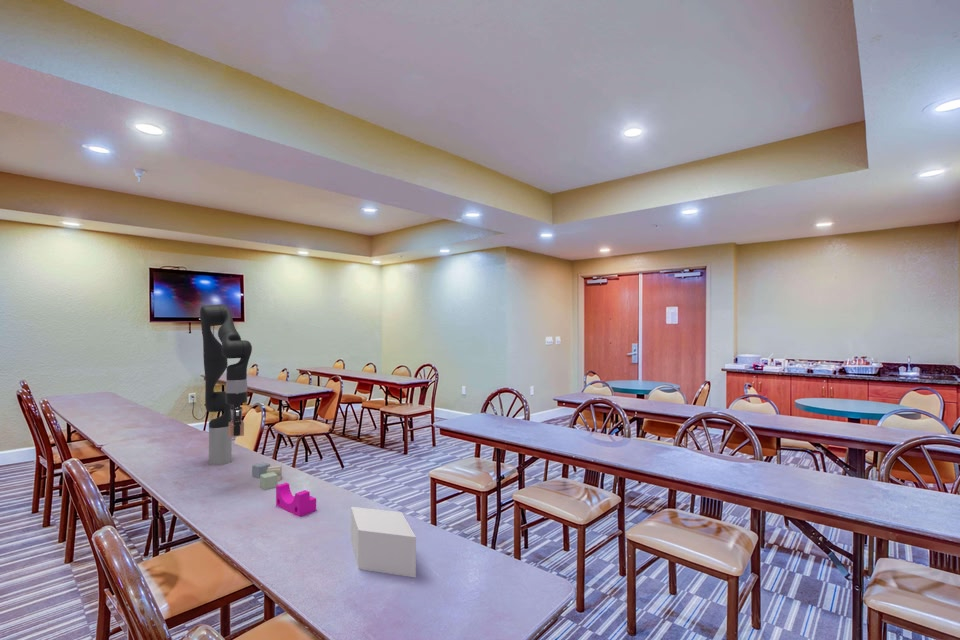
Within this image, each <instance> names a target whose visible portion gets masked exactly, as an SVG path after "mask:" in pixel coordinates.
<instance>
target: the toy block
mask: <svg viewBox="0 0 960 640" xmlns="http://www.w3.org/2000/svg"><path fill="white" fill-rule="evenodd" d="M291 491H292V490H291V488H290V483H288V482H284V483H281V484H278V485H276V487H275V506H276V507H278V508H280V509H282V510H284V511H286V512H288V513H291V514H292V515H294V516H297V517H298V518H300V517H303V516H306V515H308V514H311V513H314V512H316V511H317V497H314V496H311V493H310V491H309V490H307V489H305V490H302V491H298V492H295V493H294V496H293V494H292V492H291Z"/></svg>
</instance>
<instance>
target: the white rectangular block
mask: <svg viewBox="0 0 960 640" xmlns="http://www.w3.org/2000/svg"><path fill="white" fill-rule="evenodd" d="M350 543H351V547H352V550H353V554H354V557H355V561H356V562H355V563H356V566H357V569H358V570H363V571H364V570H365V571H371V572H376V573H381V574H382V573H384V574H390V575H396V576H402V577H403V576H404V577H410V578H417V536H416V535H415V532H413V530H412V528H411V526H410V524H409V523H408V521H407V519H406V518H405V516H404V514H403V512H401V511H394V510H382V509H377V508H365V507H358V506H356V507H355V506H351V507H350Z"/></svg>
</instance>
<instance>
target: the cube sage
mask: <svg viewBox="0 0 960 640" xmlns="http://www.w3.org/2000/svg"><path fill="white" fill-rule="evenodd" d="M278 482H279V481H278V475H277V474H275V473H274V472H271V473H266V474H262V475H260V478H259V487H260V488H261V489H262V490H263V491H266V490H271V489H274V488H275V489H276V485H279V484H278Z"/></svg>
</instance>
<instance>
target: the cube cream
mask: <svg viewBox="0 0 960 640" xmlns="http://www.w3.org/2000/svg"><path fill="white" fill-rule="evenodd" d="M282 469H283V468H282V465H273V466H270V467H268V469H267V473H271V472H274V473H275V474H277V475H278V482H280V481H281V480H282Z"/></svg>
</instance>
